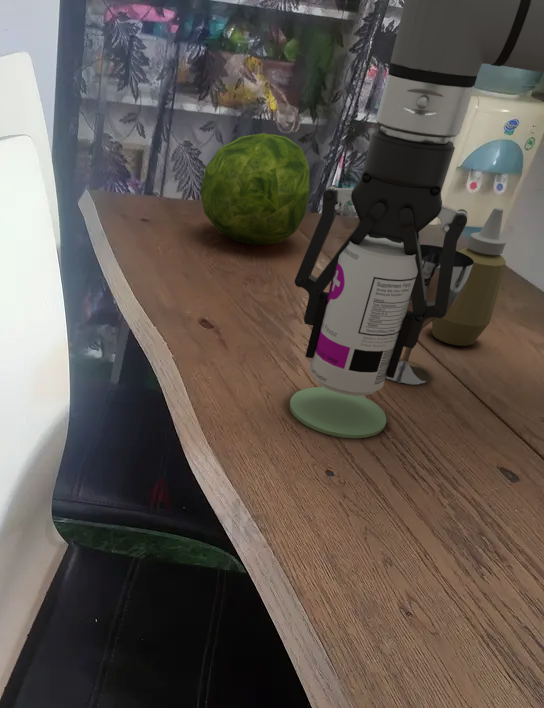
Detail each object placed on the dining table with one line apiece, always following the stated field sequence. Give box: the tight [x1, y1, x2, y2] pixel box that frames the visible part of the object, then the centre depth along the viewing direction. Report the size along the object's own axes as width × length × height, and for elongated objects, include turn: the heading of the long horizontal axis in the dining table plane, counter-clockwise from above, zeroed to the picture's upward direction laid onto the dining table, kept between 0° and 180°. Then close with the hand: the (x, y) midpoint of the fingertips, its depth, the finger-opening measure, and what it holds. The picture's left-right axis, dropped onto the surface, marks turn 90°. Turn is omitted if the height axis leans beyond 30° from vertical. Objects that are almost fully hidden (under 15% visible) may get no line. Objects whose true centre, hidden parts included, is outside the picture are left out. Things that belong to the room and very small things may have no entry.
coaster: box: [289, 386, 387, 439], centre depth 84 cm, size 11×11×1 cm
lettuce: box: [199, 132, 311, 246], centre depth 131 cm, size 19×23×18 cm
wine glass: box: [386, 244, 474, 385], centre depth 91 cm, size 8×8×15 cm
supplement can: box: [309, 234, 418, 397], centre depth 77 cm, size 8×8×15 cm
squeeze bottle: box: [431, 207, 507, 347], centre depth 101 cm, size 8×8×18 cm
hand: (350, 362), depth 80 cm, fingers closed on supplement can, 8 cm apart
